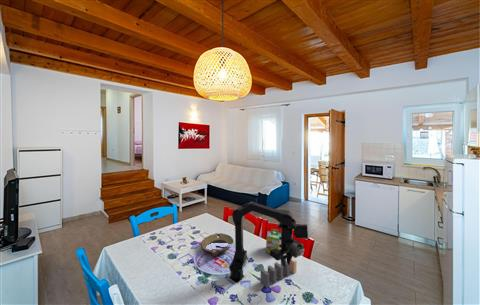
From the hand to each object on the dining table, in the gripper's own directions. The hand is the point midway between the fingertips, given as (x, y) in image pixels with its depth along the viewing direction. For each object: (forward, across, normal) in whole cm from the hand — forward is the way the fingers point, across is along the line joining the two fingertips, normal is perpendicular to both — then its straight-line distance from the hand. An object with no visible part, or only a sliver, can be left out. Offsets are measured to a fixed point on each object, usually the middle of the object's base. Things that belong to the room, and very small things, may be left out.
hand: (286, 265), depth 106 cm
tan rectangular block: (+11, +12, +7) cm, 18 cm away
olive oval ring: (+12, -14, +52) cm, 56 cm away
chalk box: (+12, +18, +28) cm, 35 cm away
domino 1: (+11, -8, +7) cm, 16 cm away
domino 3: (+11, +2, +7) cm, 14 cm away
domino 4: (+11, +7, +7) cm, 15 cm away
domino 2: (+11, -3, +7) cm, 14 cm away
